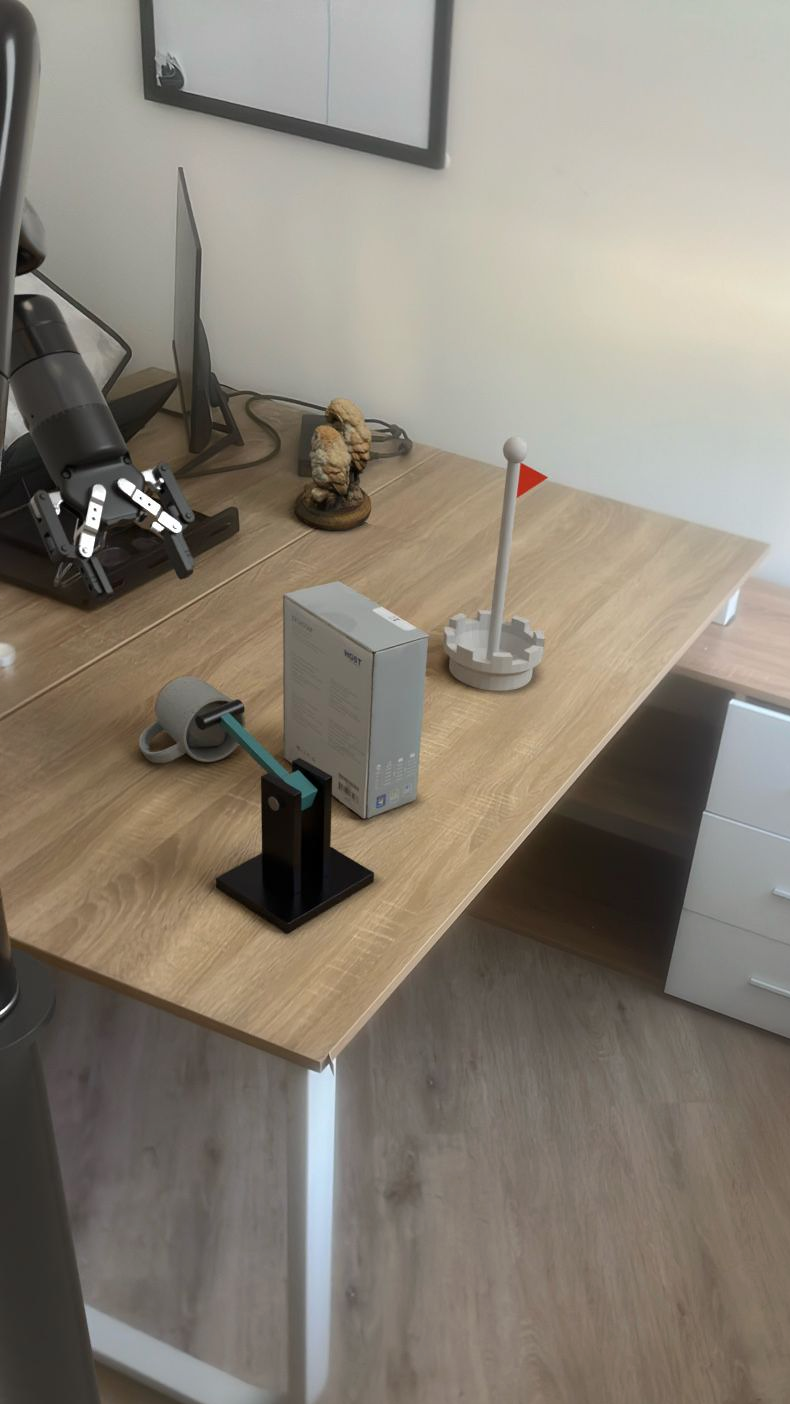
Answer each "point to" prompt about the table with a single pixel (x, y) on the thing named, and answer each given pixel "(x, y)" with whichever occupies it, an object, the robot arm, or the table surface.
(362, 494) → the owl figurine
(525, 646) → the flag stand
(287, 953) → the table surface
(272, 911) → the switch bracket
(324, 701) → the hard drive box
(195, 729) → the ceramic mug
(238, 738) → the switch lever
